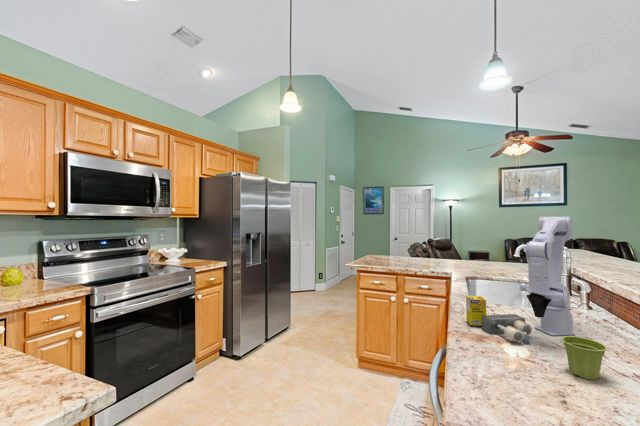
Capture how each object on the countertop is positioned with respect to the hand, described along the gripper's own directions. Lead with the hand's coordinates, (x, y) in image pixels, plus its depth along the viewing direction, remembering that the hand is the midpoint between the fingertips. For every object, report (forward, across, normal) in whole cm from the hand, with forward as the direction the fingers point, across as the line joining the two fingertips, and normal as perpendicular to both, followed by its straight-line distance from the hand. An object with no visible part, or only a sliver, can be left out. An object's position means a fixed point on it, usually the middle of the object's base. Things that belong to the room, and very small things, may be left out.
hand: (539, 316), depth 103 cm
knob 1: (+8, -6, -7) cm, 13 cm away
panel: (+9, -12, -4) cm, 16 cm away
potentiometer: (+9, -2, -4) cm, 10 cm away
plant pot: (+10, +19, -4) cm, 22 cm away
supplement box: (+10, -20, -10) cm, 24 cm away
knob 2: (+8, -11, 0) cm, 14 cm away
